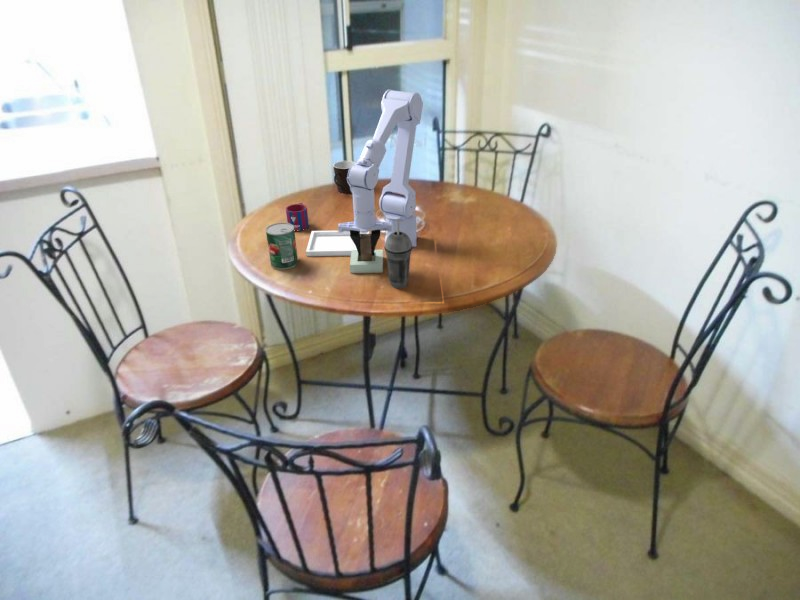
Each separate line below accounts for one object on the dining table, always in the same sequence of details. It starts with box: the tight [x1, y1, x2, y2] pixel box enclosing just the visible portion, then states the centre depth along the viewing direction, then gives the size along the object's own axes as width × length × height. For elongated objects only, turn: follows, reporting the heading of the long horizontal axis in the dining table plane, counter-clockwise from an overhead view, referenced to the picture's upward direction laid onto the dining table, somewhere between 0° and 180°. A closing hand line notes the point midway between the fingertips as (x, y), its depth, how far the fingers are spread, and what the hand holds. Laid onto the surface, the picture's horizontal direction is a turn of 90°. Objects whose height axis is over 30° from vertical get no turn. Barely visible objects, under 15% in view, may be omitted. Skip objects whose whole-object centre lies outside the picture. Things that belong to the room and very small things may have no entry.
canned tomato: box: [265, 222, 299, 270], centre depth 161 cm, size 8×8×11 cm
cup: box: [285, 202, 310, 232], centre depth 184 cm, size 7×10×7 cm
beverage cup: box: [384, 218, 413, 289], centre depth 147 cm, size 7×7×20 cm
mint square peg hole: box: [349, 249, 384, 274], centre depth 161 cm, size 9×9×3 cm
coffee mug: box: [332, 160, 357, 195], centre depth 208 cm, size 12×9×10 cm
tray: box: [305, 230, 370, 257], centre depth 172 cm, size 18×14×2 cm
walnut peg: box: [360, 233, 372, 261], centre depth 159 cm, size 3×3×9 cm
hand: (366, 254), depth 159 cm, fingers closed on walnut peg, 3 cm apart
